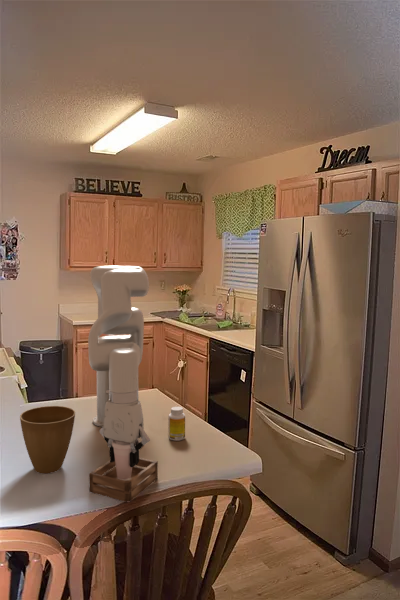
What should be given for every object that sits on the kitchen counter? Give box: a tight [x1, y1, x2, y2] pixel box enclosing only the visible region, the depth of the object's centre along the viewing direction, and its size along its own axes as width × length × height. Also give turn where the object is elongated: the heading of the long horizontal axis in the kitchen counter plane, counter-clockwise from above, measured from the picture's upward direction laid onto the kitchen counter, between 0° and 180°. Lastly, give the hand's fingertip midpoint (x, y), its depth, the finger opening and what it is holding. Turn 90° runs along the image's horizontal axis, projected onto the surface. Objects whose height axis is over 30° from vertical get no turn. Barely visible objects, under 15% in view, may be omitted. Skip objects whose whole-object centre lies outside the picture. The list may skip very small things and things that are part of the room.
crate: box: [88, 457, 159, 503], centre depth 126 cm, size 14×12×5 cm
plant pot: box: [19, 405, 76, 474], centre depth 136 cm, size 15×15×16 cm
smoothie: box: [112, 440, 136, 479], centre depth 126 cm, size 6×6×14 cm
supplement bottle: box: [167, 406, 186, 442], centre depth 159 cm, size 6×6×10 cm
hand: (124, 462), depth 126 cm, fingers closed on smoothie, 5 cm apart
